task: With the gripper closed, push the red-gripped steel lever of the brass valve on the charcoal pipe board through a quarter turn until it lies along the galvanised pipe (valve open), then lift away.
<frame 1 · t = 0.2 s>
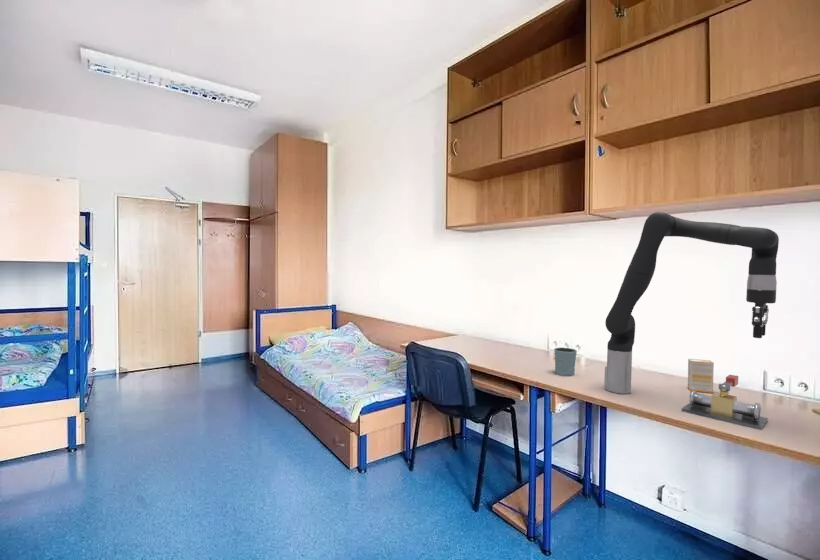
hand: (759, 336, 137), 29 cm above the table, tool pointing down, fingers open, 8 cm apart
supplement box: (699, 391, 173), on the table
grey-green tapered cup: (564, 374, 197), on the table
valve body: (723, 415, 143), on the table
valve lever: (728, 383, 147), point 11 cm above the table, hinge at 90.0°
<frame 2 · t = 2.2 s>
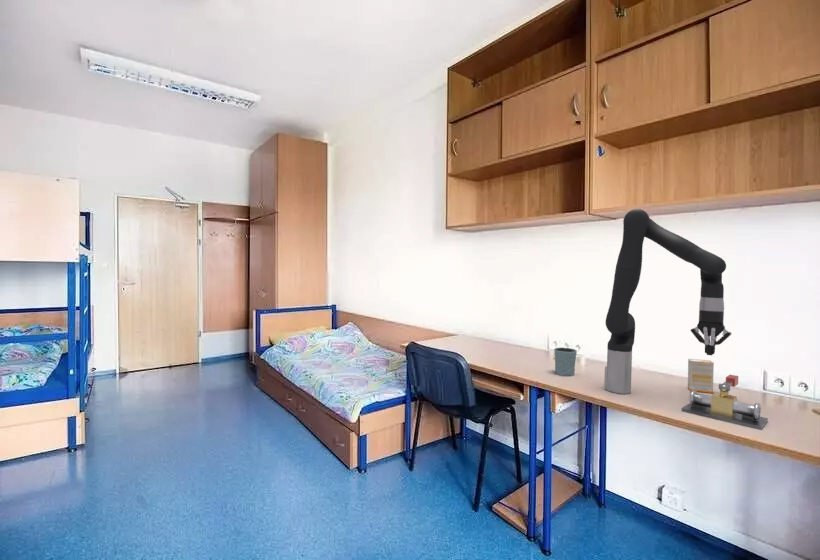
hand: (709, 354, 155), 19 cm above the table, tool pointing down, fingers closed
nothing on the table moved.
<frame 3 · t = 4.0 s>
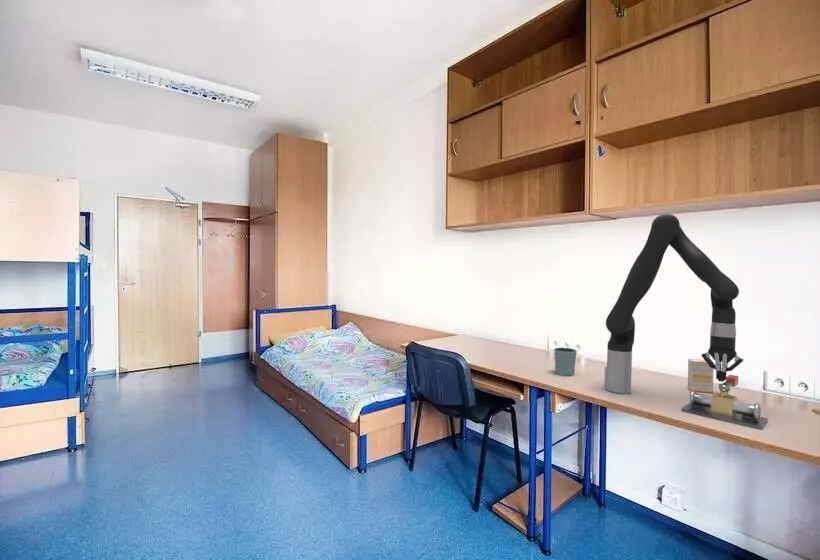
hand: (721, 380, 153), 10 cm above the table, tool pointing down, fingers closed
valve lever: (728, 383, 147), point 11 cm above the table, hinge at 90.0°, touching gripper
everything else where it was.
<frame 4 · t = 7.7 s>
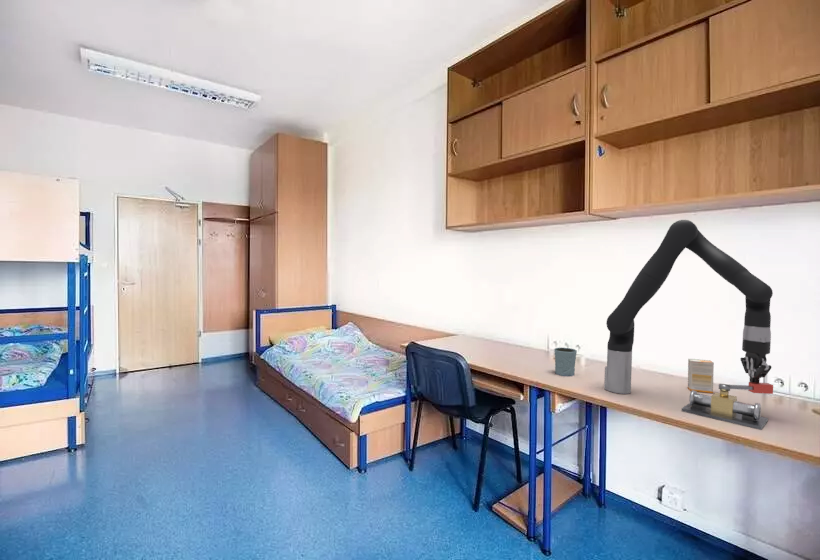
hand: (754, 387, 144), 10 cm above the table, tool pointing down, fingers closed
valve lever: (744, 387, 142), point 11 cm above the table, hinge at 41.4°, touching gripper
everything else where it was.
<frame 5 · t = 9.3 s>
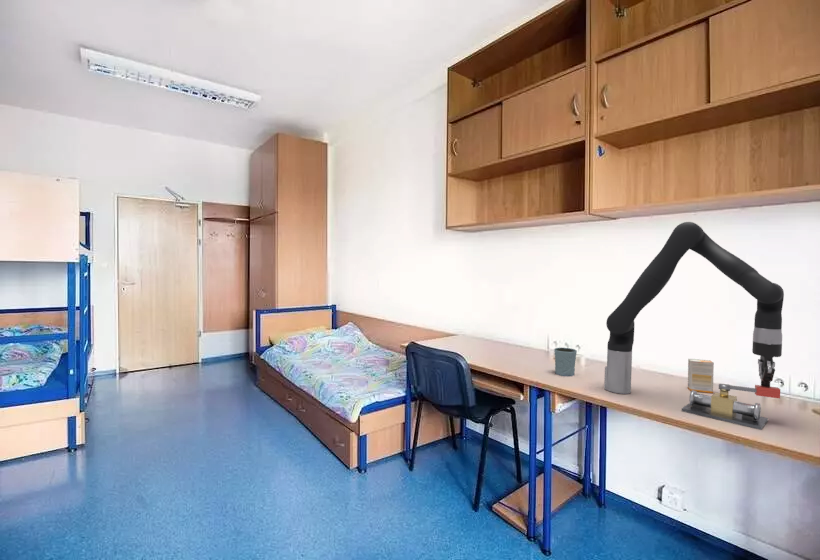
hand: (765, 391, 140), 10 cm above the table, tool pointing down, fingers closed
valve lever: (748, 389, 139), point 11 cm above the table, hinge at 19.1°, touching gripper
everything else where it was.
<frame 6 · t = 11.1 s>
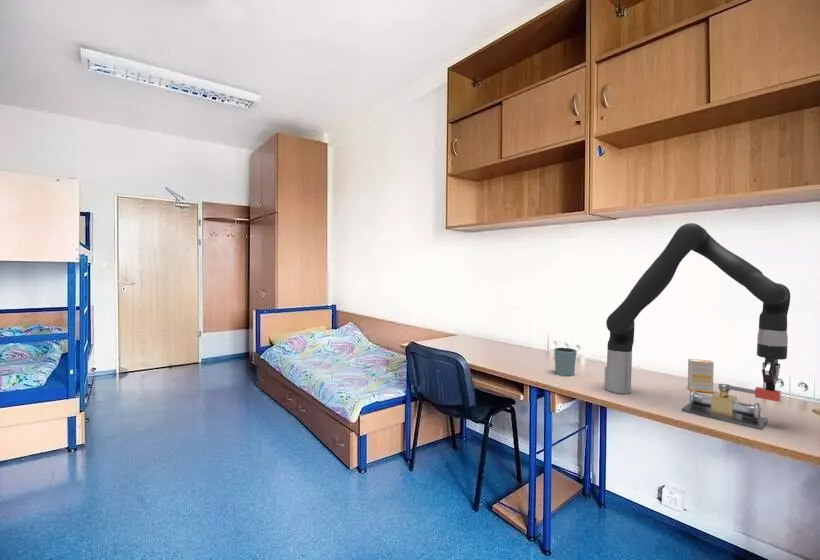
hand: (770, 394, 136), 10 cm above the table, tool pointing down, fingers closed
valve lever: (748, 390, 138), point 11 cm above the table, hinge at -0.7°
everything else where it was.
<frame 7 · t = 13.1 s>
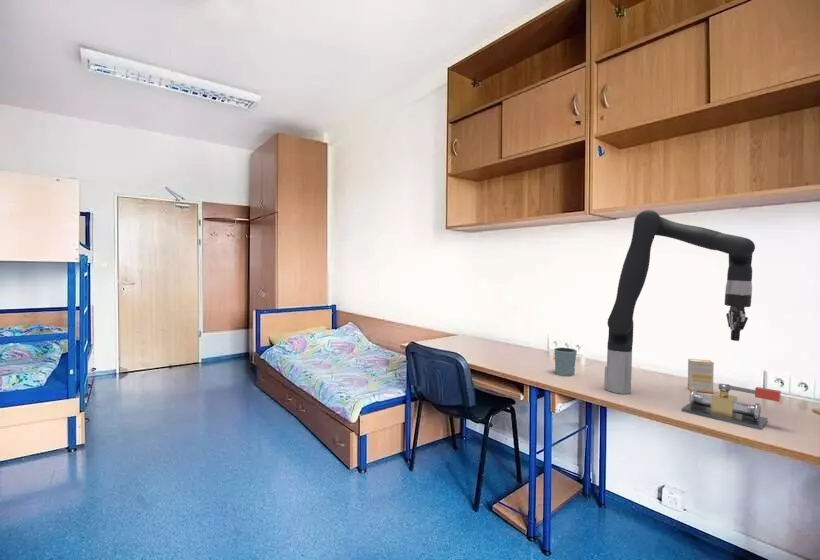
hand: (734, 340, 149), 25 cm above the table, tool pointing down, fingers closed
nothing on the table moved.
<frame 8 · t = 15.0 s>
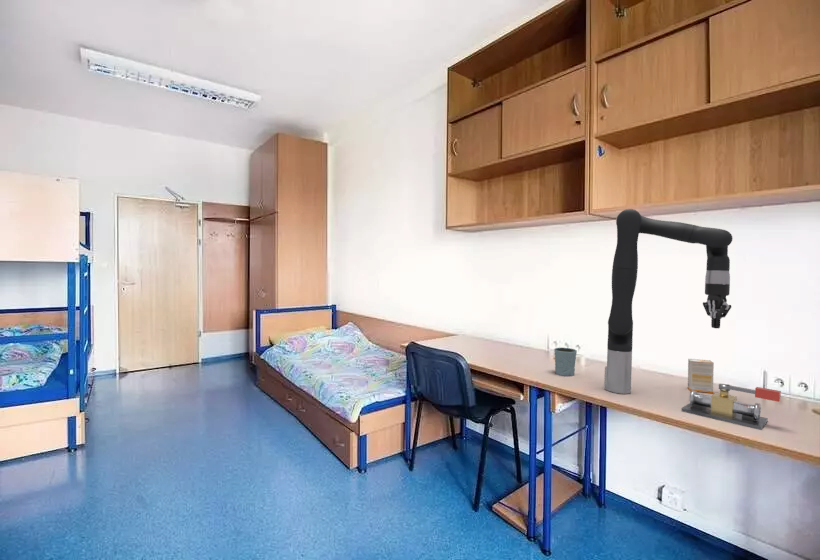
hand: (715, 328, 156), 29 cm above the table, tool pointing down, fingers closed
nothing on the table moved.
at the end: valve lever at -1° (first picture: +90°) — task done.
